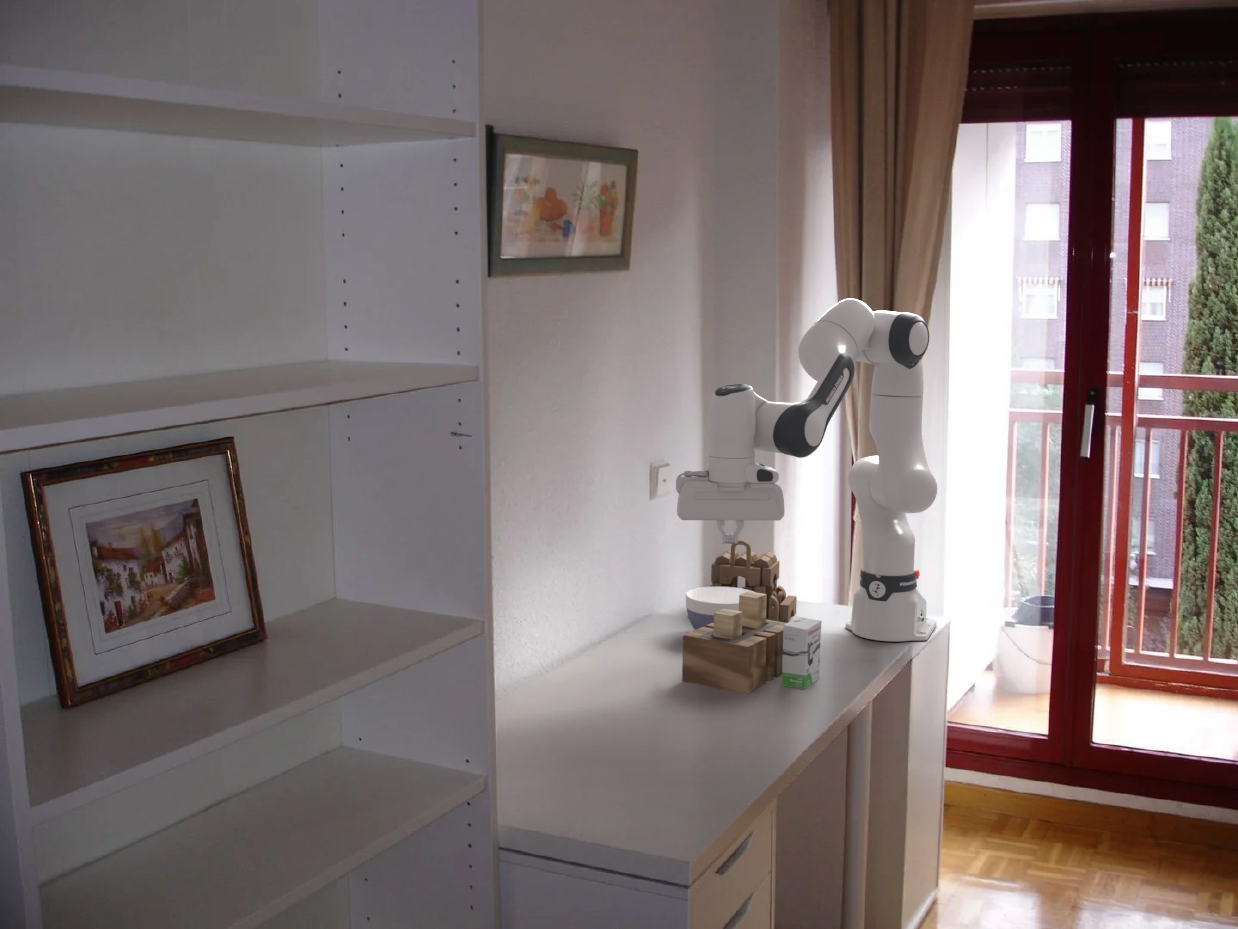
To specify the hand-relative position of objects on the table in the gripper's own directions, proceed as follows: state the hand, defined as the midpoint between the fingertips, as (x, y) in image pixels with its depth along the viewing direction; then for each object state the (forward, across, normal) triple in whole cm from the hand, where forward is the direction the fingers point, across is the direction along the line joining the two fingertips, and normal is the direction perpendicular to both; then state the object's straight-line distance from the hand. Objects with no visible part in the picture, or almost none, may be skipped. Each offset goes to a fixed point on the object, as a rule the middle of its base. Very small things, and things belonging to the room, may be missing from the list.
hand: (729, 543), depth 232 cm
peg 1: (+22, 0, 0) cm, 22 cm away
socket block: (+27, +3, +4) cm, 27 cm away
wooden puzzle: (+27, +11, +51) cm, 59 cm away
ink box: (+27, +14, -1) cm, 31 cm away
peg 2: (+21, +6, +8) cm, 23 cm away
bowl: (+27, +3, +31) cm, 41 cm away
